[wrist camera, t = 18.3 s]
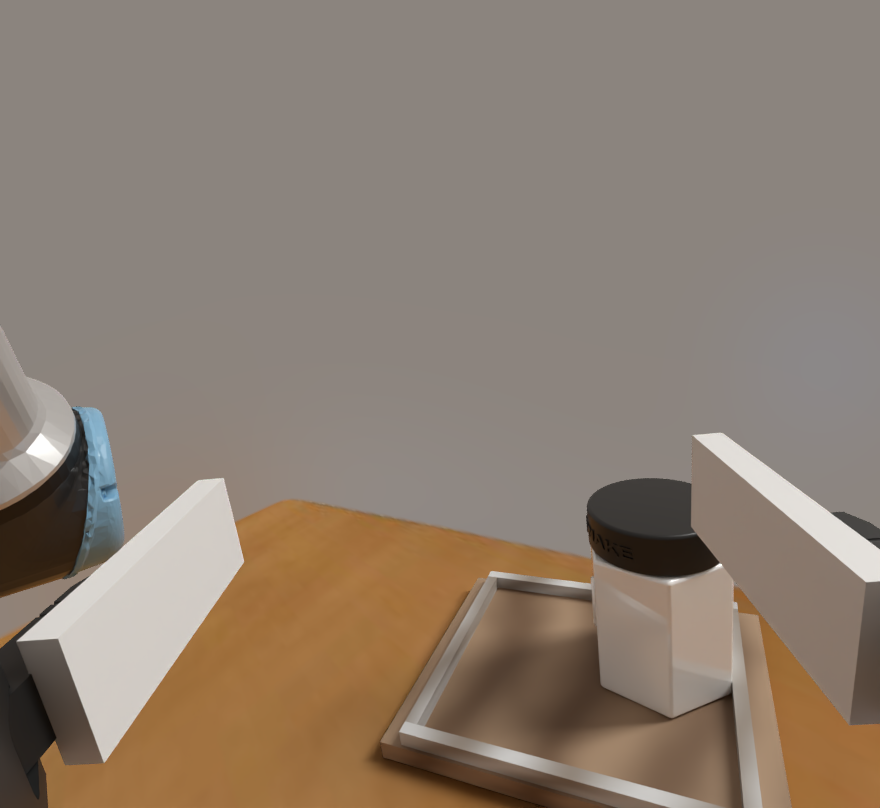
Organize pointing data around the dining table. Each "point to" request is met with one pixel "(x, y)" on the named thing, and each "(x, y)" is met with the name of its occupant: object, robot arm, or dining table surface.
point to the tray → (580, 713)
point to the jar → (658, 598)
